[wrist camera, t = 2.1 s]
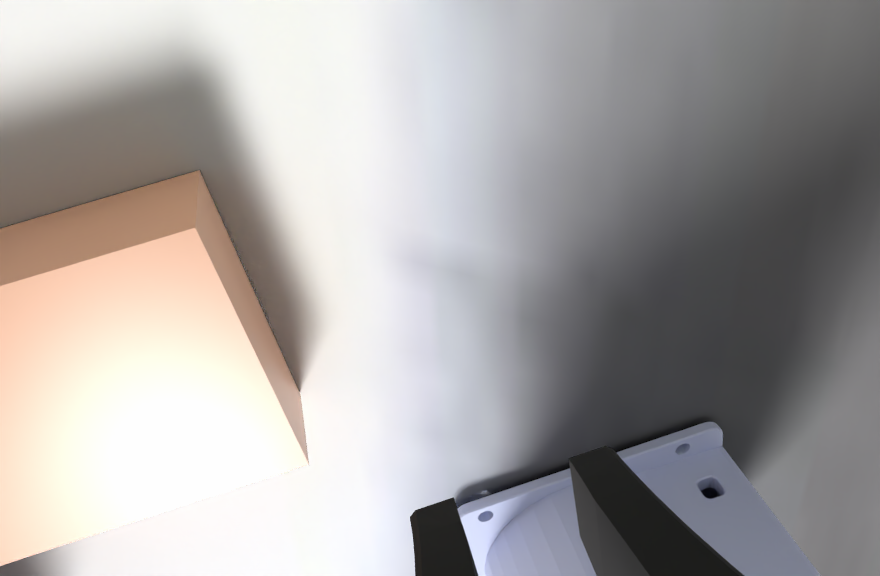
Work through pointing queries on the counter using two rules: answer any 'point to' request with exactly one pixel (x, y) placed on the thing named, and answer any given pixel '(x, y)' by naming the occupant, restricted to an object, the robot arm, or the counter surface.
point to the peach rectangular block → (132, 368)
